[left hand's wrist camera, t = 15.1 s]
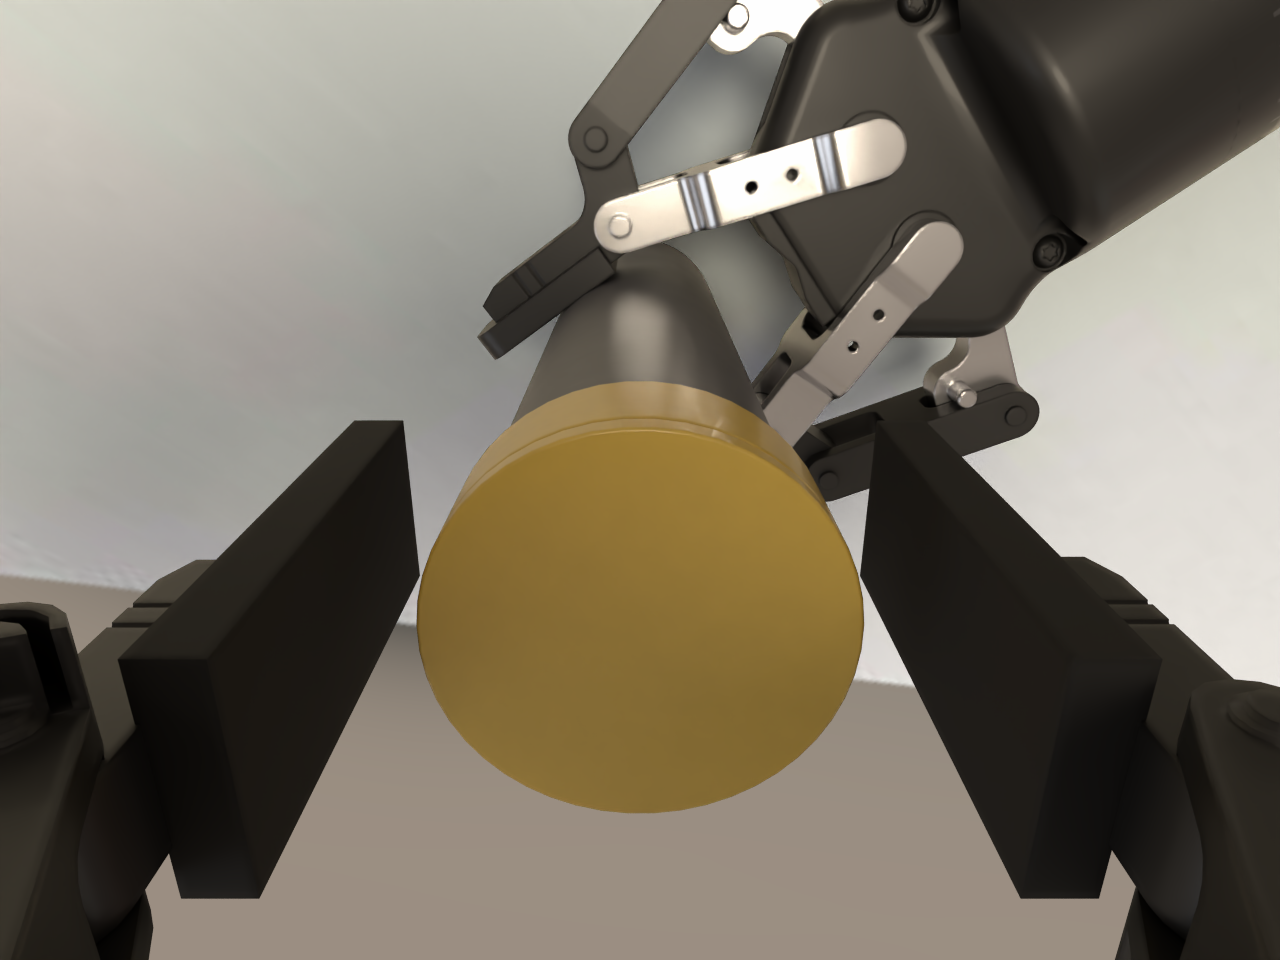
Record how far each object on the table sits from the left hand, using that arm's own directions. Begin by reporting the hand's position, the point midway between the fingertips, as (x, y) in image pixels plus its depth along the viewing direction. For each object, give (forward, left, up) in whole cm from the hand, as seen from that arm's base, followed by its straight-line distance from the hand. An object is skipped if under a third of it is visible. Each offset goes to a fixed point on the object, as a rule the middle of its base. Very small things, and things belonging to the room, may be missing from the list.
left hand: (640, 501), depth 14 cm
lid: (0, 0, +4) cm, 4 cm away
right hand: (-2, -2, -9) cm, 9 cm away
